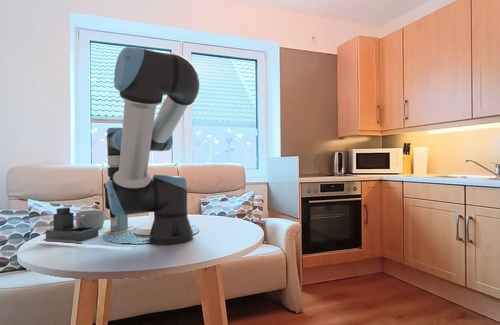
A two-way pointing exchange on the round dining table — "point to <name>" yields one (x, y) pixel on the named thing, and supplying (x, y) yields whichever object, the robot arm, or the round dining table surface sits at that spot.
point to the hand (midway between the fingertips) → (119, 224)
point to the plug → (121, 223)
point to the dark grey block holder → (68, 228)
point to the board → (116, 231)
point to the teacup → (90, 218)
